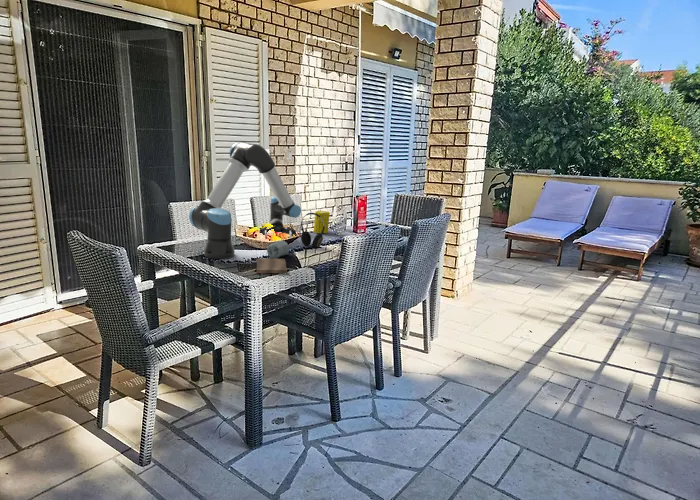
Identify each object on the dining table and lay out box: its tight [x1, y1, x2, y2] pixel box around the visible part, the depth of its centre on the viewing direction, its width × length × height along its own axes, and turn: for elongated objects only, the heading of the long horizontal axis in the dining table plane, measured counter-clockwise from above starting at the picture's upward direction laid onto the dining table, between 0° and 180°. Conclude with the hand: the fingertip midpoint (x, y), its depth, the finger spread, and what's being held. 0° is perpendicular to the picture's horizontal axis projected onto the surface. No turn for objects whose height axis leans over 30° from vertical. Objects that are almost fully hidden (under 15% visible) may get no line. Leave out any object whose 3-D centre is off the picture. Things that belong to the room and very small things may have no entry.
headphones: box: [300, 212, 325, 249], centre depth 266 cm, size 9×15×20 cm, turn 69°
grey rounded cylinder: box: [266, 240, 290, 259], centre depth 244 cm, size 14×10×10 cm
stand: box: [256, 257, 288, 274], centre depth 226 cm, size 14×18×2 cm
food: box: [313, 209, 330, 234], centre depth 302 cm, size 15×12×10 cm
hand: (278, 235), depth 254 cm, fingers open, 13 cm apart
